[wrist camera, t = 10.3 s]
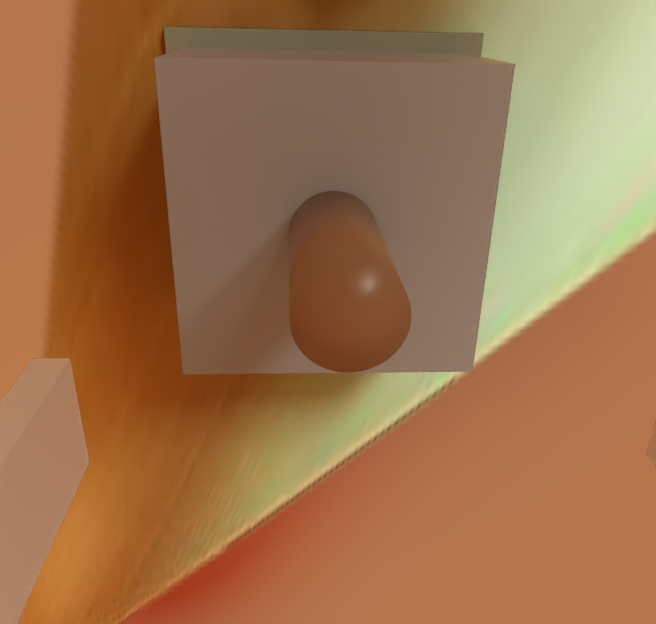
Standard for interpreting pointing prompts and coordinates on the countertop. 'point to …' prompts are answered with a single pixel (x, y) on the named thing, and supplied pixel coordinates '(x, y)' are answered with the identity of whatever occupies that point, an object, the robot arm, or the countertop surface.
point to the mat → (321, 40)
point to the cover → (330, 206)
